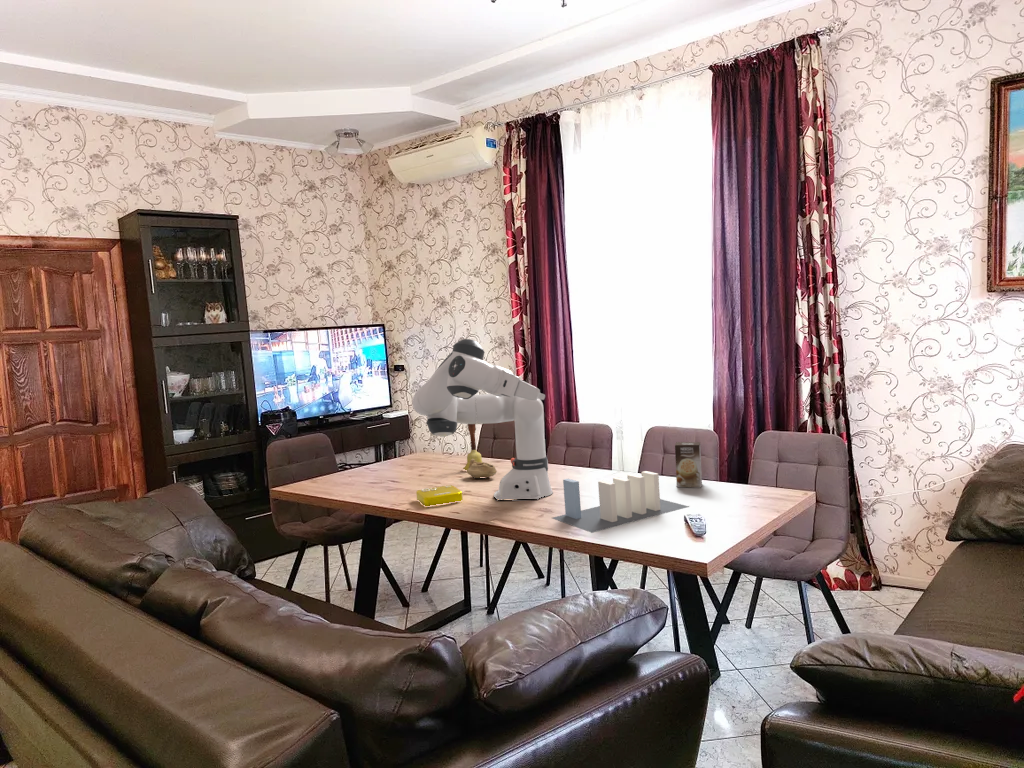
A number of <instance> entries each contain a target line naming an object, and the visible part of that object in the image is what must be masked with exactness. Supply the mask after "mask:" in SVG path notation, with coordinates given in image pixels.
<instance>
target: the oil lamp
mask: <svg viewBox="0 0 1024 768" xmlns="http://www.w3.org/2000/svg"><path fill="white" fill-rule="evenodd" d="M497 472H498V471H497V469H496V467H495V465H493V464H490V463H488V462H483V461H482V462H476V461H475V460H474V459H471V460H470V464H469V469H468V470H467V472H466V473H467V474H468V475H470V476H471V477H472V478H473V477H475V478H480V477H493V476H495V475H496V473H497ZM475 478H474V479H475Z"/></svg>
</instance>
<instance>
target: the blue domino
mask: <svg viewBox="0 0 1024 768" xmlns="http://www.w3.org/2000/svg"><path fill="white" fill-rule="evenodd" d="M562 482H563V496H564V497H563V499H564V510H565V511H564V513H565V514H566V516H569V517H572V518H575V519H579V518H581V510H582V508H581V497H580V496H581V495H580V494H581V493H580V491H581V490H580V481H579V480H574V479H571V478H564V479H562ZM565 514H564V515H565Z"/></svg>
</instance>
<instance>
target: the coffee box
mask: <svg viewBox="0 0 1024 768" xmlns="http://www.w3.org/2000/svg"><path fill="white" fill-rule="evenodd" d="M674 451H675V452H674V453H675V454H674V455H675V474H676V475H675V477H676V479H675V480H676V485H675V487H676V488H702V485H703V482H702V481H703V480H702V479H703V478H702V454H701V451H702V449H701V442H700V441H676V442H675V444H674Z"/></svg>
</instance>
